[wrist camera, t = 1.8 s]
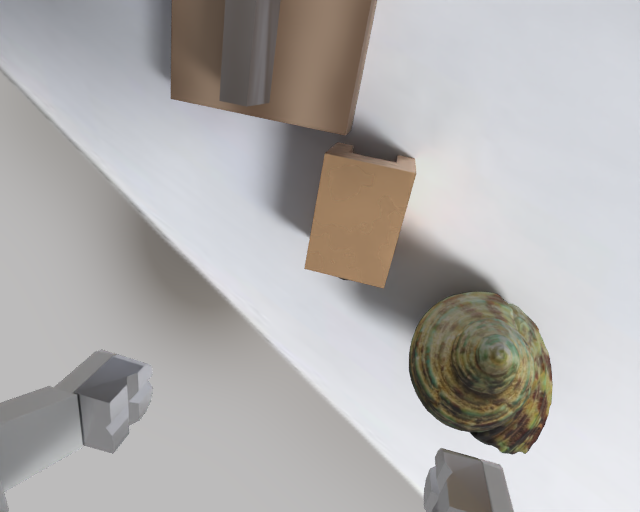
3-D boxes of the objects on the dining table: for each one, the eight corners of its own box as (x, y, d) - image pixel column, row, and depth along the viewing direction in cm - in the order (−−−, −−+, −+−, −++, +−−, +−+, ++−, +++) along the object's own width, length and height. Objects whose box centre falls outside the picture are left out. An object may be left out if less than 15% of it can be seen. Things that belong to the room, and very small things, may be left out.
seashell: (390, 373, 36) (385, 471, 27) (424, 260, 31) (431, 335, 22) (511, 404, 34) (548, 518, 25) (566, 292, 30) (636, 384, 21)
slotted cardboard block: (414, 158, 28) (416, 173, 24) (386, 262, 32) (382, 292, 27) (337, 142, 29) (324, 153, 24) (318, 245, 32) (303, 272, 28)
